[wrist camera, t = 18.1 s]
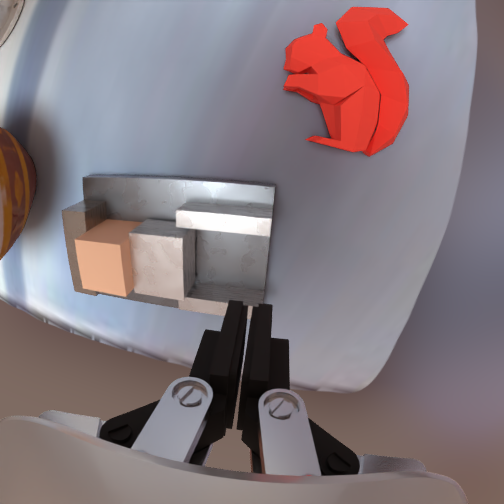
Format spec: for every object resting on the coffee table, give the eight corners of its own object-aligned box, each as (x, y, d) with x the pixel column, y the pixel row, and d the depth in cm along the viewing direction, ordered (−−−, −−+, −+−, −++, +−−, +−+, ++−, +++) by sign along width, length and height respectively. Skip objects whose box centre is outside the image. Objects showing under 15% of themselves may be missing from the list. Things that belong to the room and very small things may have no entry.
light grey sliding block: (150, 273, 30) (134, 292, 27) (147, 219, 28) (128, 232, 24) (195, 280, 30) (184, 300, 27) (195, 223, 28) (182, 238, 24)
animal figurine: (410, 29, 20) (432, 14, 15) (386, 163, 26) (407, 169, 21) (298, -6, 20) (301, -30, 15) (268, 131, 26) (267, 130, 21)
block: (111, 262, 31) (82, 288, 25) (107, 219, 29) (74, 239, 23) (151, 267, 31) (126, 296, 25) (148, 222, 29) (120, 244, 23)
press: (102, 287, 34) (79, 310, 29) (90, 174, 29) (59, 185, 24) (261, 311, 33) (257, 343, 28) (275, 184, 27) (273, 196, 22)
